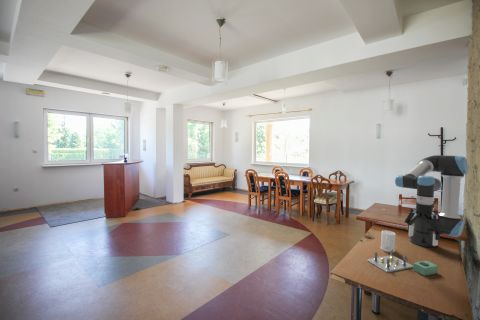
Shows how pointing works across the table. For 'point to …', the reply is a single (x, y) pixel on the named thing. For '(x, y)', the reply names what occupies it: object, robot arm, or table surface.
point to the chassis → (390, 262)
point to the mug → (387, 241)
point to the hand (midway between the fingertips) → (422, 240)
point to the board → (425, 268)
